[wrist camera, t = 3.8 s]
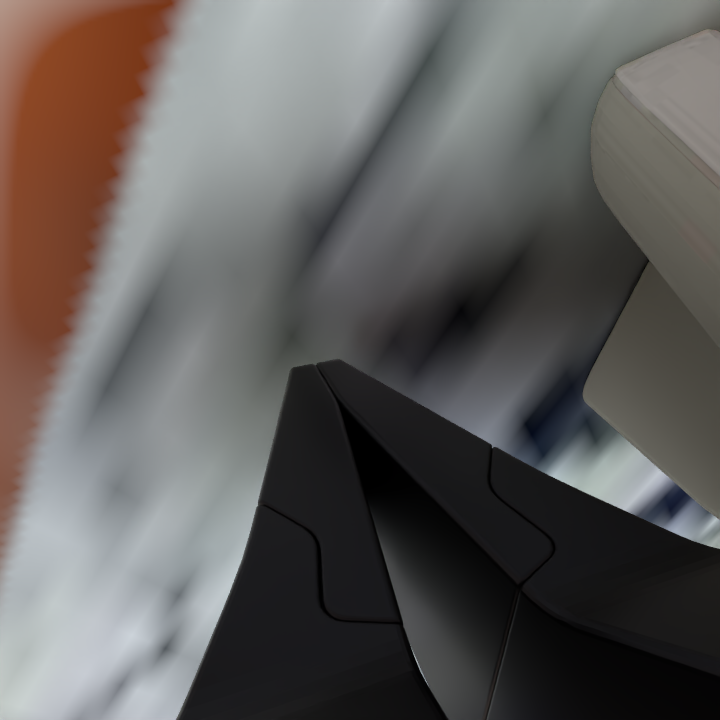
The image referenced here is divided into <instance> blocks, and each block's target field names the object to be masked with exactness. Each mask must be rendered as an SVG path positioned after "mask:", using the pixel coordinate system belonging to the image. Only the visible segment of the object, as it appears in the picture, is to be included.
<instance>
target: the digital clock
mask: <svg viewBox="0 0 720 720" xmlns="http://www.w3.org/2000/svg"><path fill="white" fill-rule="evenodd" d="M591 164H592V171H593V178H594V182H595V184H596V186H597V188H598V191H599V193H600V195H601V197H602V199H603V200H604V202H605V203H606V204H607V206H608V207H609V209H610V210H611V211H612V213H613V214H614V215H615V217H616V218H617V219H618V221H619V222H620V224H621V225H622V226H623V227H624V229H625V230H626V231H627V232H628V234H629V235H630V236H631V238H632V239H633V240H634V241H635V243H636V244H637V245H638V246H639V248H640V249H641V250H642V251H643V253H644V254H645V255H646V256H647V258H648V259H649V262H648V264H647V266H646V268H645V270H644V272H643V273H642V275H641V277H640V279H639V281H638V283H637V285H636V287H635V289H634V290H633V292H632V294H631V296H630V298H629V300H628V302H627V304H626V305H625V307H624V309H623V311H622V313H621V315H620V317H619V319H618V321H617V322H616V324H615V326H614V328H613V330H612V332H611V334H610V336H609V338H608V339H607V341H606V343H605V345H604V347H603V349H602V351H601V353H600V354H599V356H598V358H597V360H596V362H595V364H594V366H593V368H592V370H591V372H590V374H589V376H588V378H587V380H586V383H585V385H584V389H583V399H584V401H585V402H586V403H587V404H588V405H589V406H590V407H591V408H592V409H593V410H594V411H595V412H597V413H598V414H599V415H600V416H601V417H602V418H603V419H604V420H605V421H607V422H608V423H609V424H610V425H611V426H612V427H613V428H614V429H615V430H617V431H618V432H619V433H620V434H621V435H622V436H623V437H624V438H626V439H627V440H628V441H629V442H630V443H631V444H632V445H633V446H634V447H636V448H637V449H638V450H639V451H640V452H641V453H642V454H643V455H644V456H646V457H647V458H648V459H649V460H650V461H651V462H652V463H653V464H655V465H656V466H657V467H658V468H659V469H660V470H661V471H662V472H664V473H665V474H666V475H667V476H668V477H669V478H670V479H671V480H673V481H674V482H675V483H676V484H677V485H678V486H679V487H680V488H682V489H683V490H684V491H685V492H686V493H687V494H688V495H689V496H691V497H692V498H693V499H694V500H695V501H696V502H697V503H698V504H700V505H701V506H702V507H703V508H704V509H706V510H707V511H708V512H710V513H711V514H713V515H714V516H715V517H717V518H718V519H720V32H719V31H717V30H711V29H705V30H703V31H701V32H698V33H696V34H693V35H691V36H689V37H686V38H684V39H681V40H679V41H677V42H674V43H672V44H669V45H667V46H665V47H662V48H660V49H658V50H656V51H654V52H651V53H649V54H647V55H645V56H642V57H640V58H638V59H636V60H634V61H631V62H629V63H627V64H625V65H622V66H620V67H619V68H617V69H616V70H615V75H614V77H612V78H611V79H610V80H609V82H608V83H607V85H606V87H605V89H604V91H603V93H602V94H601V96H600V98H599V101H598V104H597V108H596V111H595V114H594V117H593V121H592V125H591Z"/></svg>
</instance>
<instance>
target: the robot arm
mask: <svg viewBox="0 0 720 720" xmlns="http://www.w3.org/2000/svg"><path fill="white" fill-rule="evenodd" d="M410 645H411V646H410ZM411 648H412V649H411ZM412 650H413V652H414V654H415V656H416V659H417V661H418V663H419V665H420V668H421V670H422V672H423V674H424V677H425V679H426V681H427V683H428V685H429V686H428V685H427V683H426V681H425V679H424V678H423V676H422V674H421V672H420V670H419V667H418V665H417V662H416V660H415V657H414V655H413V652H412ZM176 720H720V549H718V548H714V547H710V546H706V545H703V544H700V543H697V542H694V541H691V540H689V539H687V538H684V537H682V536H679V535H677V534H675V533H672V532H670V531H668V530H666V529H664V528H661V527H659V526H657V525H655V524H653V523H650V522H648V521H646V520H644V519H642V518H639V517H637V516H635V515H633V514H631V513H628V512H626V511H624V510H622V509H620V508H617V507H615V506H613V505H611V504H609V503H606V502H604V501H602V500H600V499H598V498H595V497H593V496H591V495H589V494H587V493H584V492H582V491H580V490H578V489H576V488H574V487H572V486H570V485H568V484H566V483H564V482H561V481H559V480H557V479H555V478H553V477H551V476H549V475H547V474H545V473H543V472H541V471H539V470H537V469H536V468H534V467H532V466H530V465H528V464H526V463H524V462H522V461H520V460H519V459H517V458H515V457H513V456H511V455H510V454H508V453H506V452H504V451H502V450H501V449H499V448H497V447H493V448H492V445H491V444H490V443H488V442H486V441H484V440H482V439H481V438H479V437H477V436H475V435H474V434H472V433H470V432H468V431H466V430H465V429H463V428H461V427H459V426H457V425H456V424H454V423H452V422H450V421H449V420H447V419H445V418H443V417H441V416H440V415H438V414H436V413H434V412H433V411H431V410H429V409H427V408H425V407H424V406H422V405H420V404H418V403H416V402H415V401H413V400H411V399H409V398H408V397H406V396H404V395H402V394H400V393H399V392H397V391H395V390H393V389H392V388H390V387H388V386H386V385H384V384H383V383H381V382H379V381H377V380H376V379H374V378H372V377H370V376H368V375H367V374H365V373H363V372H361V371H359V370H358V369H356V368H354V367H352V366H351V365H349V364H347V363H345V362H343V361H341V360H339V359H336V360H330V361H325V362H320V363H317V364H316V365H314V364H309V365H303V366H298V367H293V368H292V369H291V370H290V373H289V378H288V382H287V386H286V390H285V394H284V398H283V402H282V406H281V410H280V414H279V418H278V423H277V427H276V431H275V435H274V439H273V443H272V447H271V451H270V455H269V459H268V463H267V468H266V472H265V476H264V480H263V484H262V488H261V492H260V496H259V500H258V506H257V508H256V511H255V515H254V519H253V523H252V527H251V531H250V534H249V538H248V541H247V545H246V548H245V551H244V555H243V558H242V561H241V564H240V566H239V569H238V572H237V574H236V577H235V580H234V583H233V585H232V588H231V591H230V593H229V596H228V598H227V601H226V603H225V605H224V608H223V610H222V613H221V615H220V617H219V620H218V622H217V625H216V627H215V629H214V632H213V634H212V637H211V639H210V642H209V644H208V646H207V649H206V651H205V654H204V656H203V658H202V661H201V663H200V666H199V668H198V670H197V673H196V675H195V678H194V680H193V682H192V685H191V687H190V690H189V692H188V694H187V697H186V699H185V701H184V703H183V706H182V708H181V710H180V712H179V715H178V717H177V719H176Z"/></svg>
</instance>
